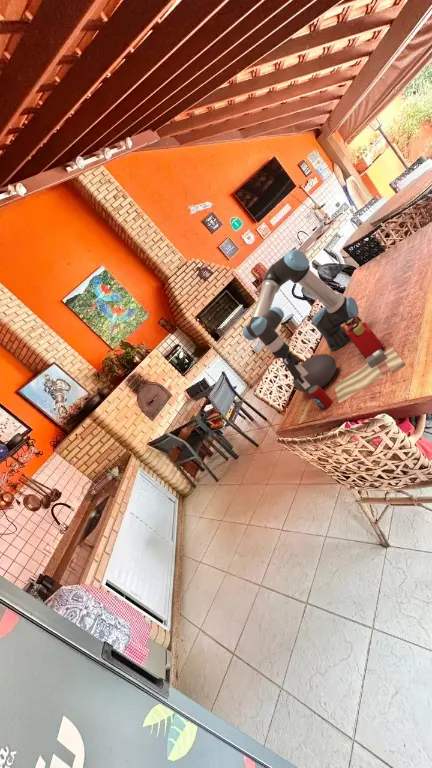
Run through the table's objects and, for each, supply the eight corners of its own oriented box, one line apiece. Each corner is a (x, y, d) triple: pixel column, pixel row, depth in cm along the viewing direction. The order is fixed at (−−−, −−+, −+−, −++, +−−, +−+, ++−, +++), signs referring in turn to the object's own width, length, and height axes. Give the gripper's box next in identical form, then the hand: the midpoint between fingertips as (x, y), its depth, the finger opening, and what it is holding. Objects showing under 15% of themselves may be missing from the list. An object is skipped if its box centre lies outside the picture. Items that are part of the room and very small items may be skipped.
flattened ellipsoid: (339, 388, 188) (320, 366, 184) (299, 405, 205) (281, 386, 201) (346, 360, 205) (329, 340, 202) (308, 378, 222) (292, 360, 219)
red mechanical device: (386, 349, 183) (362, 318, 179) (367, 362, 187) (343, 332, 182) (378, 339, 197) (355, 310, 193) (361, 351, 201) (338, 322, 196)
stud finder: (369, 364, 182) (364, 357, 181) (384, 354, 179) (379, 347, 178) (371, 368, 177) (366, 362, 176) (387, 358, 174) (382, 351, 173)
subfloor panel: (335, 387, 191) (334, 385, 191) (394, 349, 178) (392, 347, 178) (340, 405, 175) (338, 403, 175) (405, 364, 162) (403, 362, 162)
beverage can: (320, 409, 186) (305, 391, 183) (331, 400, 185) (315, 382, 182) (325, 413, 179) (309, 395, 176) (336, 404, 178) (320, 386, 175)
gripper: (271, 342, 185) (298, 374, 190) (270, 362, 163) (301, 397, 168) (284, 333, 182) (311, 365, 187) (284, 352, 160) (315, 388, 165)
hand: (306, 380), depth 178 cm, fingers open, 13 cm apart
